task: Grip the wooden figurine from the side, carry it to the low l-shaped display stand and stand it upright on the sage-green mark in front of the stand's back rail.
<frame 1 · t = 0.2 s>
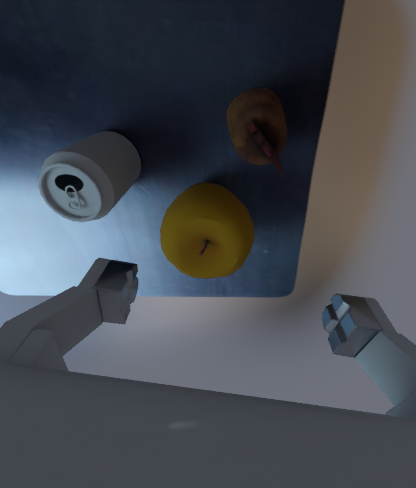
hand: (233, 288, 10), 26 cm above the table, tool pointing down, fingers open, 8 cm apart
apple: (211, 202, 37), on the table
can: (116, 158, 34), on the table
wooden figurine: (252, 118, 30), on the table
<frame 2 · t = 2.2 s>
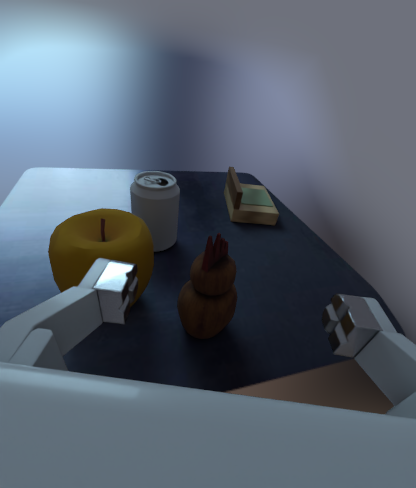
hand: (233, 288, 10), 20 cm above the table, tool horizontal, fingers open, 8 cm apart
apple: (112, 303, 33), on the table
can: (155, 242, 44), on the table
l-shaped display stand: (247, 207, 59), on the table
wooden figurine: (202, 325, 32), on the table
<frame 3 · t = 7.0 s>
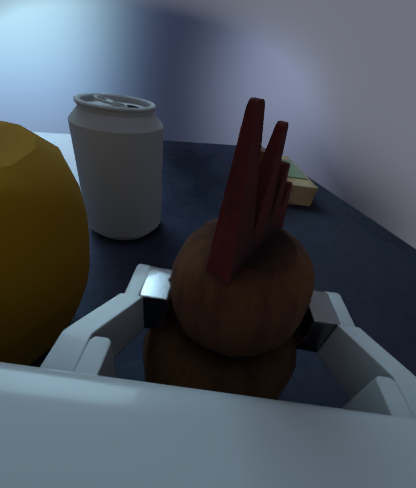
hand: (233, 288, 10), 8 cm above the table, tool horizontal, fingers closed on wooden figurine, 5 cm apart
apple: (11, 343, 15), on the table
can: (125, 225, 27), on the table
l-shaped display stand: (266, 183, 42), on the table
wooden figurine: (205, 396, 14), on the table, touching gripper
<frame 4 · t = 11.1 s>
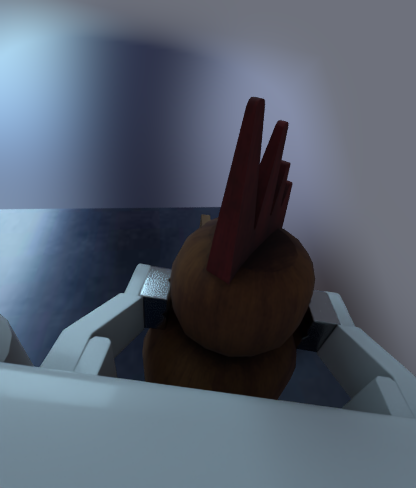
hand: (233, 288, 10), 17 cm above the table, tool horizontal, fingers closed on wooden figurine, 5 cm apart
wooden figurine: (205, 396, 14), point 9 cm above the table, touching gripper
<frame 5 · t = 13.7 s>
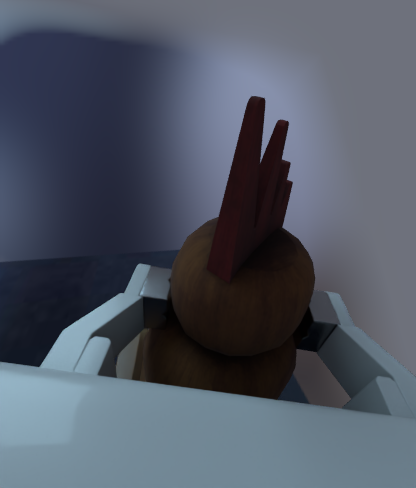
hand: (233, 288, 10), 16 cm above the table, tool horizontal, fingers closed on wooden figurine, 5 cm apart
l-shaped display stand: (186, 434, 19), on the table
wooden figurine: (205, 396, 14), point 7 cm above the table, touching gripper
when the fingers open (11 cm above the table, at t = 15.4 s): wooden figurine stays where it is, resting on l-shaped display stand.
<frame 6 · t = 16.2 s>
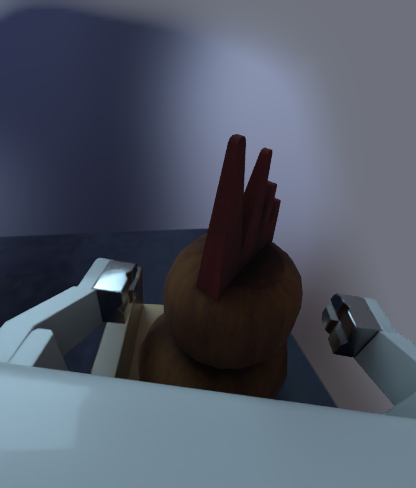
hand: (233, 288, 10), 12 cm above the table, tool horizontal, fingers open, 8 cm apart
l-shaped display stand: (186, 419, 16), on the table
wooden figurine: (200, 402, 15), point 3 cm above the table, touching l-shaped display stand
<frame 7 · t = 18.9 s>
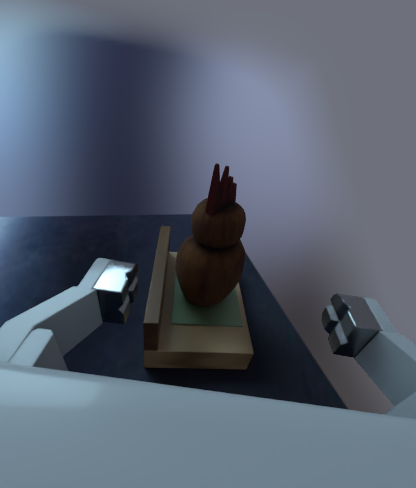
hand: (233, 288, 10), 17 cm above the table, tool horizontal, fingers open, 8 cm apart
l-shaped display stand: (195, 310, 30), on the table
wooden figurine: (204, 294, 28), point 3 cm above the table, touching l-shaped display stand
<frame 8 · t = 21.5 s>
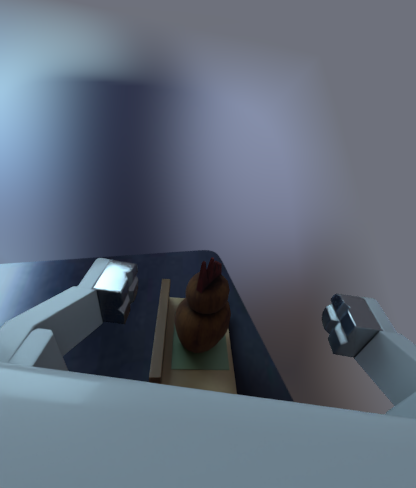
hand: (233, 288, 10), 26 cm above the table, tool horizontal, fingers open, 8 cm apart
l-shaped display stand: (191, 350, 35), on the table
wooden figurine: (198, 339, 34), point 3 cm above the table, touching l-shaped display stand
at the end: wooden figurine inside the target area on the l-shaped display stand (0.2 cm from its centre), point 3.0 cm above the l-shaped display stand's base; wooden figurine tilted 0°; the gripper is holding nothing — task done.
